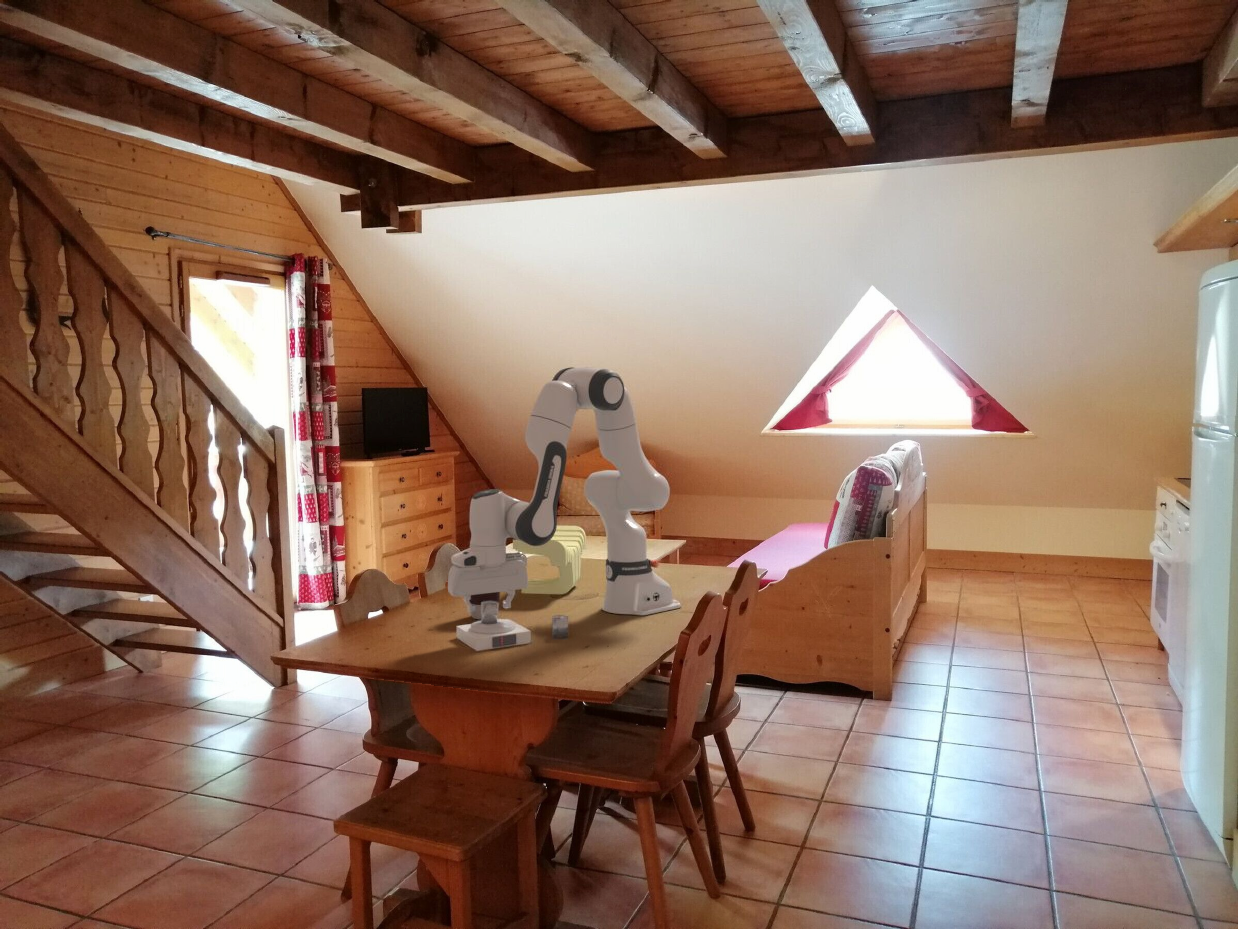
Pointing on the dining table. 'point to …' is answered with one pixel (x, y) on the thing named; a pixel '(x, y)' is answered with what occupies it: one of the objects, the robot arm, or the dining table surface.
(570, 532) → the slatted curved stool
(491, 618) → the cylinder
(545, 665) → the dining table surface
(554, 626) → the cylinder
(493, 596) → the coffee cup
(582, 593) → the dining table surface
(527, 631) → the scale
